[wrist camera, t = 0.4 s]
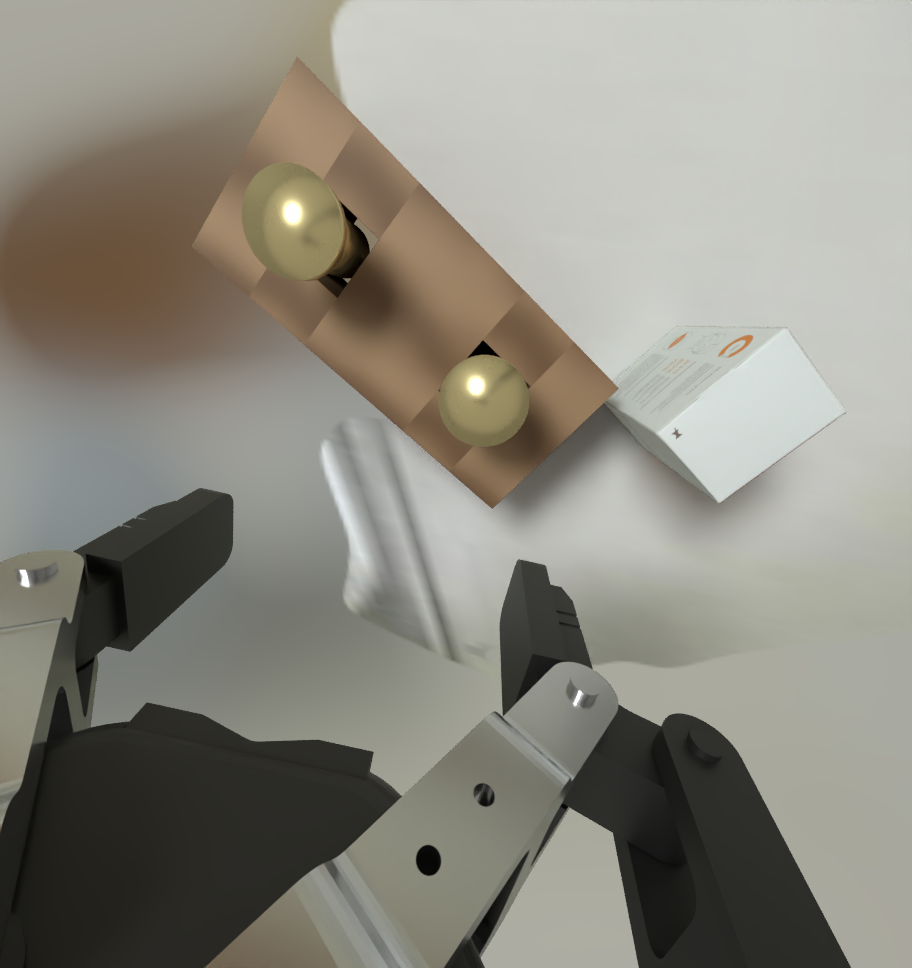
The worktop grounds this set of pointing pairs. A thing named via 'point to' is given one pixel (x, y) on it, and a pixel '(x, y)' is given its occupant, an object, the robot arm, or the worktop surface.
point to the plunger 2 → (483, 400)
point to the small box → (723, 403)
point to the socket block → (403, 294)
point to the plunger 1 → (300, 225)
